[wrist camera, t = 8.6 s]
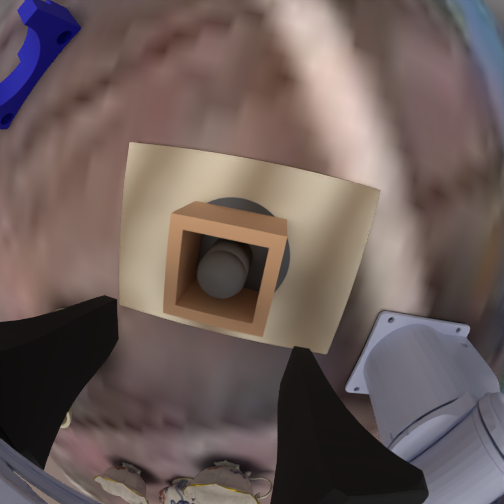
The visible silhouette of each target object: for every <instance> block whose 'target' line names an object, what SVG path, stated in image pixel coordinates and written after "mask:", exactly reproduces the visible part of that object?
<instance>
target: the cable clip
mask: <svg viewBox="0 0 504 504" xmlns="http://www.w3.org/2000/svg"><path fill="white" fill-rule="evenodd" d="M17 11H18V13H19V15H20V17H21V19H22V21H23V23H24V25H26V26H28V32H27V36H26V39H25V41H24V44H23V46H22V48H21V49H20V51H19V53H18V56H19V59H20V61H21V62H20V63H19V65H18V66H17V67H16V69H15V70H14V71H13V72H12V73H11V74H10V75H9V76H8V77H7V78H6V79H5V80H3V81H2V82H1V83H0V129H8V127H9V125H10V124H11V122H12V120H13V118H14V117H15V115H16V113H17V112H18V110H19V109H20V107H21V105H22V104H23V102H24V101H25V99H26V98H27V96H28V95H29V93H30V92H31V90H32V89H33V87H34V86H35V84H36V83H37V82H38V80H39V79H40V77H41V76H42V75H43V73H44V72H45V71H46V69H47V68H48V67H49V65H50V64H51V63H52V62H53V60H54V59H55V58H56V57H57V56H58V54H59V53H60V52H61V51H62V50H63V48H64V47H65V46H66V45H67V44H68V43H69V41H70V40H71V39H72V38H73V37H74V36H75V35H76V34H77V33H78V32H79V31H80V29H81V27H80V26H79V24H78V23H77V22H76V20H75V19H74V18H73V16H72V15H71V14H70V13H69V11H68V10H67V9H66V8H65V7H63V6H61V5H59V4H57V3H55V2H53V1H50V0H47V1H46V2H44V1H42V0H25V2H24V3H23V4H22V5H21V6H20V8H19V9H18V10H17Z"/></svg>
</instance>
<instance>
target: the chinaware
mask: <svg viewBox="0 0 504 504" xmlns="http://www.w3.org/2000/svg"><path fill="white" fill-rule="evenodd" d="M122 463H123V466H113V467H110V468H108V469H107V470H105V471H104V472H103V473H102V474H101V475H99V476H95V477H93V479H94V480H95V481H96V482H99V483H100V484H101V486H102V488H103V489H104V490H105V491H106V492H108V493H110V494H112V495H117V496H120V495H121V497H122V498H123V499H124V500H125V501H127V502H129V503H131V504H141V503H143V504H149V502H148V500H147V499H146V485H145V482H144V480H143V479H142V477H141V476H140V472H141V471H140V470H139V469H137V468H136V467H134V466H133V465H130V464H126V463H124V462H122ZM213 463H214V464H215V466H212V467H209V468H207V469H204V470H203V471H201V472H200V473H199V474H198V475H197V476H196V477H195V479H193V478H176V479H174V480H173V481H172V485H170V486H168V487H165V488H163V489H162V490H160V491H159V500H160V503H161V504H260V501H259V500H258V499H262V498H266V497H267V496H269V495H270V493H271V492H272V488H273V486H272V483H271V481H270V480H269V479H267V478H265V477H257V478H250V477H249V476H250V475H251V472H250V471H247V472H245V473H244V474H243V473H242V472H241V471H240V470H239V466H240V465H236V464H233V463H230V462H227V461H226V460H225V461H222V462H217V463H216V462H213ZM249 479H250V480H257V479H263V480H266V481H267V482H268V483H269V484H270V491H269V492H268V493H267V494H266V495H264V496H262V497H260V493H258V494H256V495H255V496H254V494H253V489H252V485H251V483H250V481H249ZM256 496H257V497H256Z"/></svg>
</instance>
